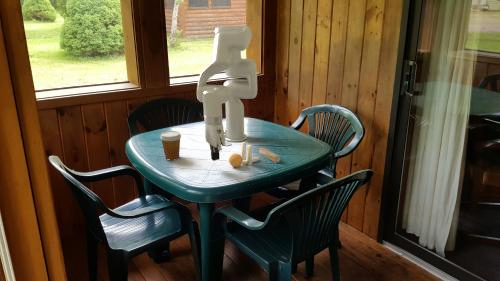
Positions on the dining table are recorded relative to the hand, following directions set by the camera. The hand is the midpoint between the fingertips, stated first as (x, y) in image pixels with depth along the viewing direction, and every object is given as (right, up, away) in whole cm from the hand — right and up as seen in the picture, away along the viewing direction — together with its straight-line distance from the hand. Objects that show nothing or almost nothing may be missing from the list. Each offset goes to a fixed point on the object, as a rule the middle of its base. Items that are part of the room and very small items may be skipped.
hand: (215, 159), depth 175 cm
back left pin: (+12, -1, +11) cm, 16 cm away
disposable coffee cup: (-22, 0, +16) cm, 27 cm away
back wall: (+24, 0, +14) cm, 28 cm away
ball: (+9, 0, +4) cm, 10 cm away
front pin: (+12, -2, +6) cm, 13 cm away
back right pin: (+15, -3, +6) cm, 16 cm away
